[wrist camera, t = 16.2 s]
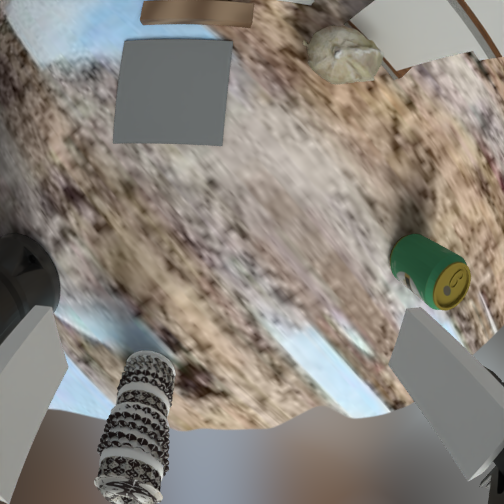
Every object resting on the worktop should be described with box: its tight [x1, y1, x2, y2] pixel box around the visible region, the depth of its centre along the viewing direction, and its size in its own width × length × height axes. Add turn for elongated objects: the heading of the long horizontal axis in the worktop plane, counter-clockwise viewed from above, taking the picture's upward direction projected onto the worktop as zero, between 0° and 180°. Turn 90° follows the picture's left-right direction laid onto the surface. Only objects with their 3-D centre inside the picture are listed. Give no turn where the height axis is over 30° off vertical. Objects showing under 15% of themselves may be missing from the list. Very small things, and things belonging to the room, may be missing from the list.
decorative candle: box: [94, 350, 175, 504], centre depth 36 cm, size 9×9×25 cm
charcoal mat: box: [113, 39, 233, 146], centre depth 34 cm, size 14×14×1 cm
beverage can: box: [390, 234, 471, 310], centre depth 40 cm, size 8×8×12 cm
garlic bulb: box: [303, 25, 384, 84], centre depth 31 cm, size 9×8×10 cm
